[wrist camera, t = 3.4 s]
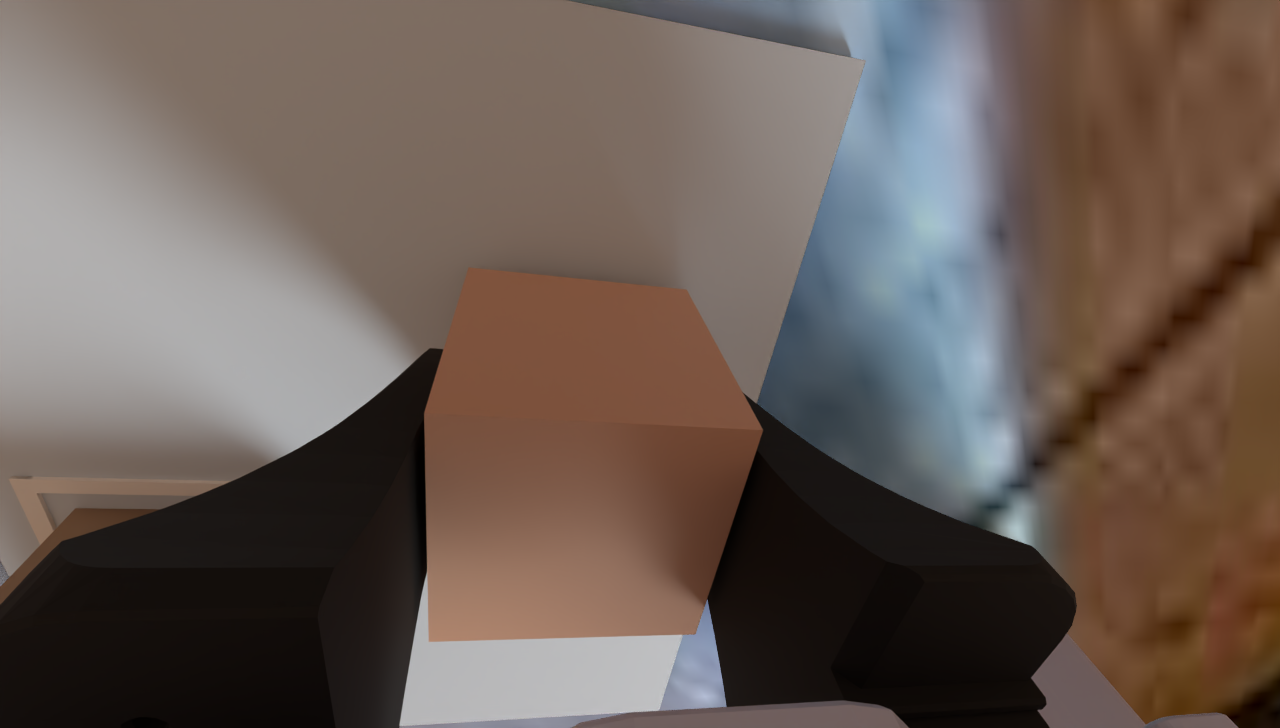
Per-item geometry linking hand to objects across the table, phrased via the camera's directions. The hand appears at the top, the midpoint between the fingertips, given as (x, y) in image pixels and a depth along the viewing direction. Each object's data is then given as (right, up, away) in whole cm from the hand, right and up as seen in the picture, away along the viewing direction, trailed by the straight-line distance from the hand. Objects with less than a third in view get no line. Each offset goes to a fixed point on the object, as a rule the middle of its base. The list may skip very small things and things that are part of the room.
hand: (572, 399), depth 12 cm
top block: (0, +1, +1) cm, 1 cm away
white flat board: (-5, -2, +3) cm, 6 cm away
